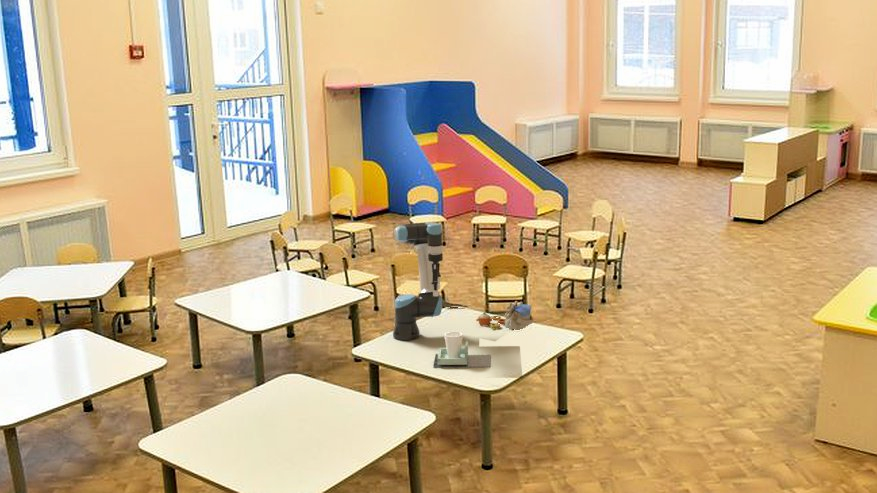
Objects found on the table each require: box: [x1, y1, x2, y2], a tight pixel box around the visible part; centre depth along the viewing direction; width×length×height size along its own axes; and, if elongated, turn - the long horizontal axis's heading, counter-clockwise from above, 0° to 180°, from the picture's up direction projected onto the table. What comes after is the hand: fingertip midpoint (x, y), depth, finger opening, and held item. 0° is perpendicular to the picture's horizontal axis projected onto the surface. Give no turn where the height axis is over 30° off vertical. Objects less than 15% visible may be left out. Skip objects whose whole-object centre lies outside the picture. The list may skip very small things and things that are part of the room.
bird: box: [442, 299, 470, 309], centre depth 537 cm, size 18×8×10 cm, turn 71°
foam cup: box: [443, 330, 464, 358], centre depth 449 cm, size 10×9×13 cm
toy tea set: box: [475, 309, 510, 330], centre depth 510 cm, size 26×16×10 cm, turn 145°
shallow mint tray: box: [437, 340, 469, 366], centre depth 450 cm, size 17×15×7 cm
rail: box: [432, 353, 491, 369], centre depth 451 cm, size 18×29×1 cm, turn 86°
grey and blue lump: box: [503, 300, 534, 330], centre depth 506 cm, size 26×16×16 cm, turn 151°
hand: (436, 292), depth 454 cm, fingers open, 13 cm apart
